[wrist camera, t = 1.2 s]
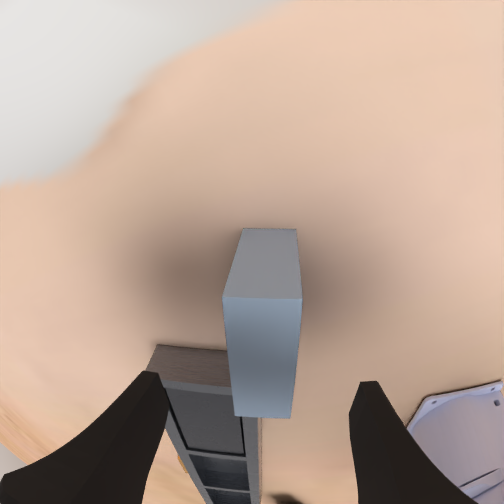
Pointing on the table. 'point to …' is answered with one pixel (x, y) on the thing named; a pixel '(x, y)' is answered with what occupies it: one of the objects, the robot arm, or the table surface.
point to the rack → (209, 425)
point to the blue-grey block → (263, 322)
